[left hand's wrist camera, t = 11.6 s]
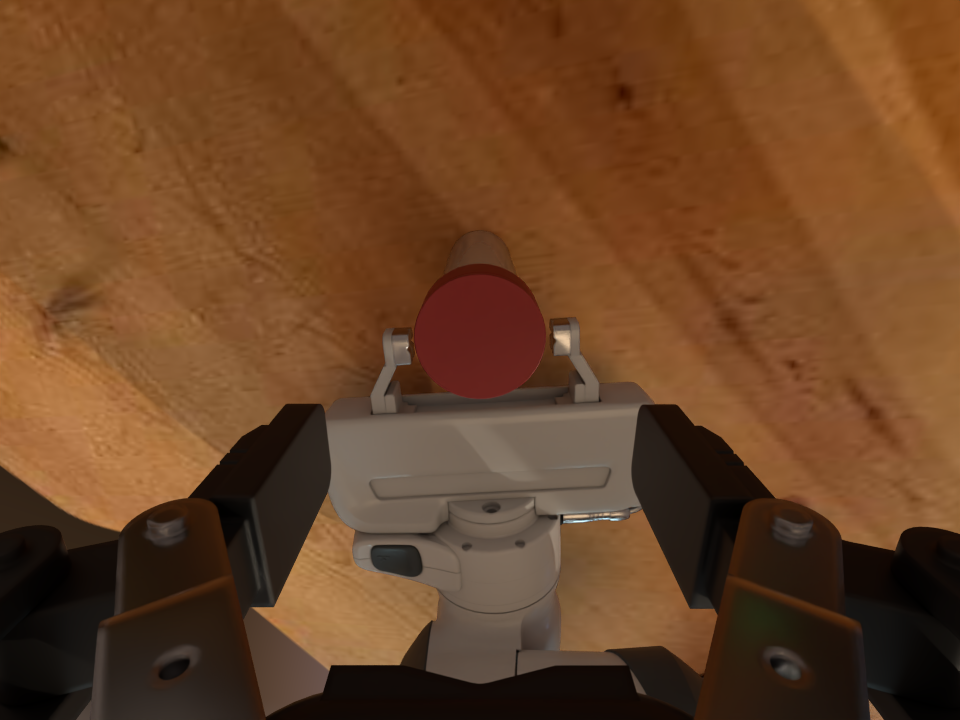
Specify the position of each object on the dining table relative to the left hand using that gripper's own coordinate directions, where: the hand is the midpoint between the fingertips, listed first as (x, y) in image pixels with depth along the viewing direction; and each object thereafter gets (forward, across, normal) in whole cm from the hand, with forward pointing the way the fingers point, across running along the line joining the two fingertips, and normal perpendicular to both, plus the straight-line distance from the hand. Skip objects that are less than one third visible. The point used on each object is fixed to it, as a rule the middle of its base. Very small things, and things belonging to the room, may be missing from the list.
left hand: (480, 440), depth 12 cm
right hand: (+17, 0, +2) cm, 17 cm away
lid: (+8, 0, 0) cm, 8 cm away
